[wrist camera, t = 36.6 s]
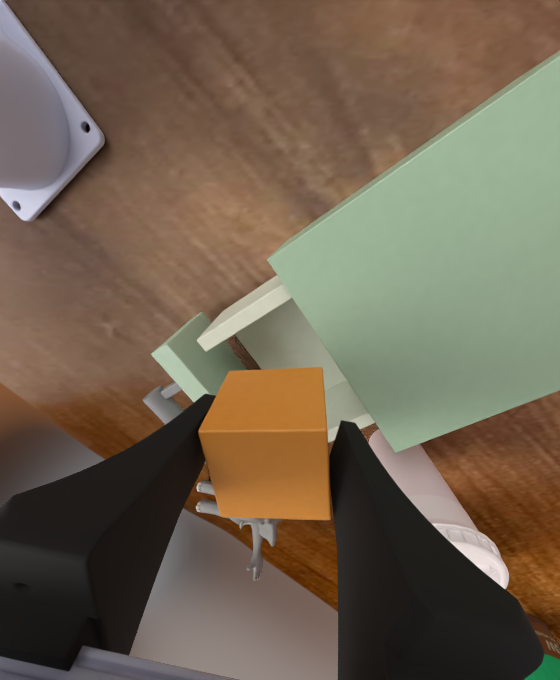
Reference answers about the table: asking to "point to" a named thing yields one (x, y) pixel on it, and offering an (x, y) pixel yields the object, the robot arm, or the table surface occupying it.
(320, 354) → the drawer
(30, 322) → the table surface
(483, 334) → the sage green box
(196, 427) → the robot arm
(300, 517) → the orange cube
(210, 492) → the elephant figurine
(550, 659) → the food container
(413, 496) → the smoothie
